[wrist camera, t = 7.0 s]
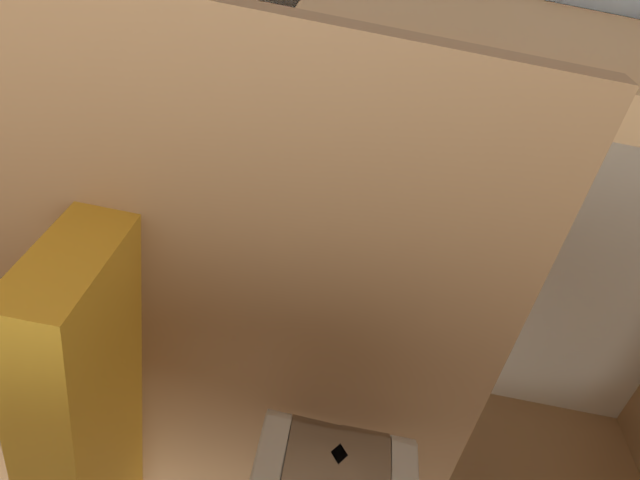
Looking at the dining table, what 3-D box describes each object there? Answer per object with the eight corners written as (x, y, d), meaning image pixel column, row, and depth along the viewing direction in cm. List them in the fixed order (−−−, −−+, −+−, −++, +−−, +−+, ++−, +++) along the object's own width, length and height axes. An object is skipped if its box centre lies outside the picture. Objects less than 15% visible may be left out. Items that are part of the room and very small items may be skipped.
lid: (625, 73, 9) (750, 182, 6) (387, 585, 17) (387, 737, 14) (-402, -131, 9) (-830, -131, 6) (-128, 485, 17) (-239, 616, 14)
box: (871, 65, 16) (1231, 212, 9) (622, 423, 24) (712, 639, 17) (328, -43, 16) (282, 24, 9) (266, 353, 24) (217, 542, 17)
